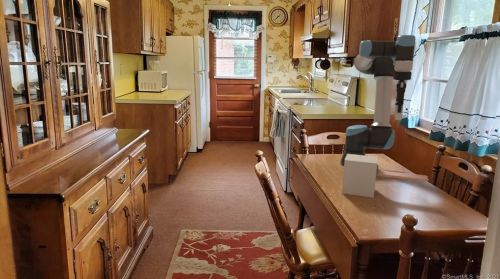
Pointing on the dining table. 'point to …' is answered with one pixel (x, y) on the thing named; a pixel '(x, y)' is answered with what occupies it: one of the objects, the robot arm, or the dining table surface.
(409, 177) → the ticket strip
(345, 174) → the block
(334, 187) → the dining table surface
